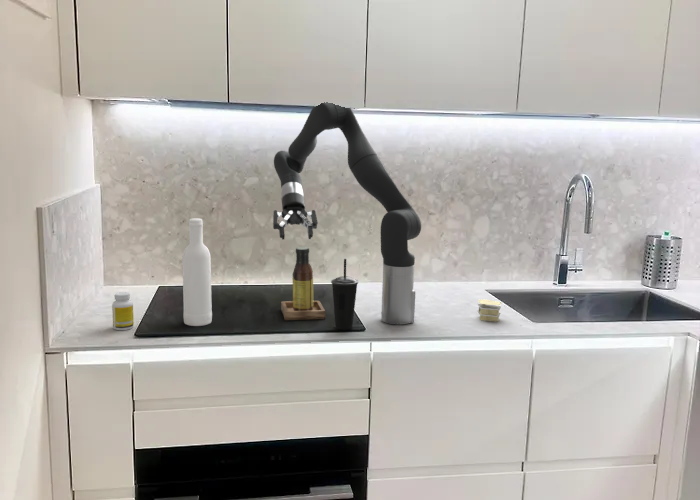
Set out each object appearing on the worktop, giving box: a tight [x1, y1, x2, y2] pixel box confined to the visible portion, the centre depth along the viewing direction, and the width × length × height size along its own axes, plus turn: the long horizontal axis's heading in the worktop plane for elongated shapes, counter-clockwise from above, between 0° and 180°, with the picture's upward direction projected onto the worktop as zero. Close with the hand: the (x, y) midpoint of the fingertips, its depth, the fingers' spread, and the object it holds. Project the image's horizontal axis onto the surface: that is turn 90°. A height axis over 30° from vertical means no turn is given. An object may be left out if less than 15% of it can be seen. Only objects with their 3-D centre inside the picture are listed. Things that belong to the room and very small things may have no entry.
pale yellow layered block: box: [476, 298, 502, 322], centre depth 191 cm, size 10×9×6 cm
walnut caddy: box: [280, 300, 326, 321], centre depth 191 cm, size 12×12×2 cm
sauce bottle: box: [292, 246, 314, 311], centre depth 190 cm, size 7×6×20 cm
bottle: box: [181, 217, 213, 327], centre depth 178 cm, size 8×8×30 cm
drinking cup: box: [330, 258, 359, 331], centre depth 177 cm, size 8×8×20 cm
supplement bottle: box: [111, 291, 135, 331], centre depth 173 cm, size 5×5×10 cm
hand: (296, 237), depth 200 cm, fingers open, 8 cm apart
